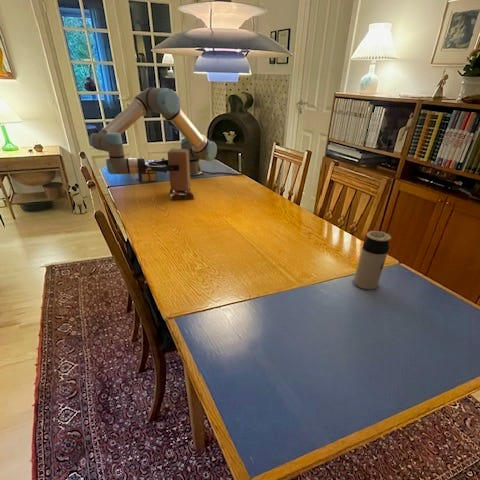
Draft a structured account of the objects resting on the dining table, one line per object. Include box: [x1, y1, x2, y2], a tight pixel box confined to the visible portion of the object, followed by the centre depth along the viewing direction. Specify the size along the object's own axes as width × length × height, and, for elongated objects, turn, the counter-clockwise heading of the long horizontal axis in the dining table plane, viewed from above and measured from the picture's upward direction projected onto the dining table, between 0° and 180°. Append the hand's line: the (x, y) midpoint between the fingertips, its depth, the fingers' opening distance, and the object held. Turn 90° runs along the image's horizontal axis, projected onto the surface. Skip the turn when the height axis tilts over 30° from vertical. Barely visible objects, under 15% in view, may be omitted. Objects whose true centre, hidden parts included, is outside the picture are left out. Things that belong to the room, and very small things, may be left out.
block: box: [167, 148, 192, 191], centre depth 188 cm, size 10×10×20 cm
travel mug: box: [353, 230, 392, 290], centre depth 114 cm, size 8×8×18 cm
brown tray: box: [169, 187, 194, 201], centre depth 195 cm, size 12×14×4 cm
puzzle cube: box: [137, 169, 158, 183], centre depth 220 cm, size 10×10×10 cm
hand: (177, 165), depth 186 cm, fingers open, 13 cm apart
